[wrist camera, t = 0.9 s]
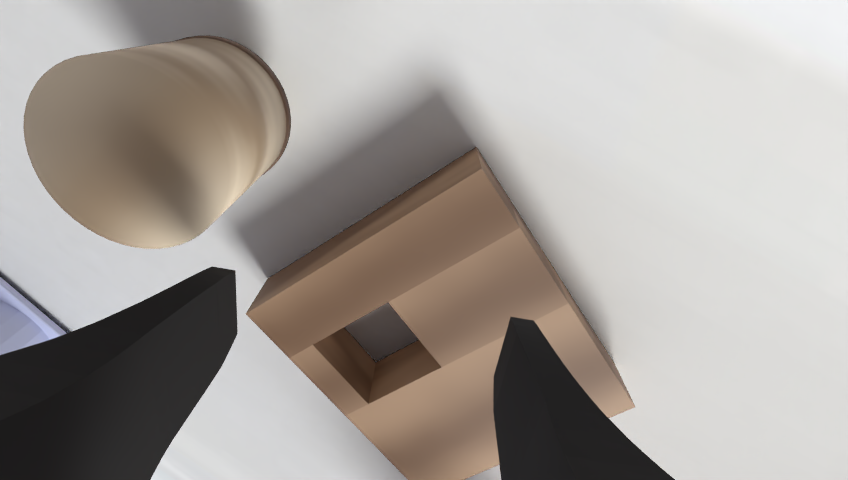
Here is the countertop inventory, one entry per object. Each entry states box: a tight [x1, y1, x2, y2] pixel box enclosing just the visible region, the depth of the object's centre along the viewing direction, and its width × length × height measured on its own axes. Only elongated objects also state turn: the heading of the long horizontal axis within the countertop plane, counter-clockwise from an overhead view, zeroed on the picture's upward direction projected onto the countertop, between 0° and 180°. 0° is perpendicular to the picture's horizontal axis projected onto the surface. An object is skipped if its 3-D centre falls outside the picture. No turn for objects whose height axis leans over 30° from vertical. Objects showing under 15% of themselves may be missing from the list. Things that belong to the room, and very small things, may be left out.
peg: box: [24, 36, 291, 249], centre depth 17 cm, size 5×5×8 cm
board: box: [246, 147, 635, 480], centre depth 24 cm, size 14×12×3 cm
